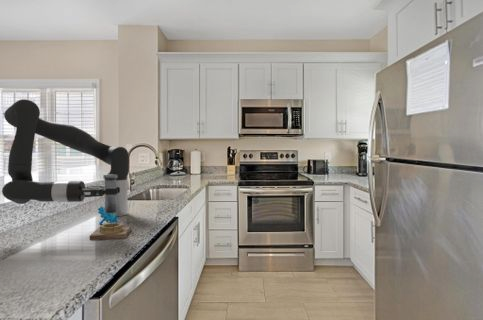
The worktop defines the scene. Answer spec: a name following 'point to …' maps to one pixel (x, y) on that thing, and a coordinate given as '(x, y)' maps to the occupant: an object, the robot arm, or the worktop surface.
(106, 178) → the pin
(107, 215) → the blue irregular figure
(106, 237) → the stand
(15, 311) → the worktop surface
